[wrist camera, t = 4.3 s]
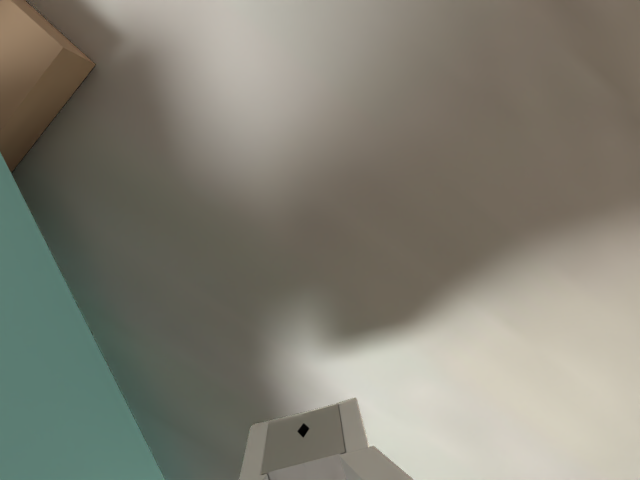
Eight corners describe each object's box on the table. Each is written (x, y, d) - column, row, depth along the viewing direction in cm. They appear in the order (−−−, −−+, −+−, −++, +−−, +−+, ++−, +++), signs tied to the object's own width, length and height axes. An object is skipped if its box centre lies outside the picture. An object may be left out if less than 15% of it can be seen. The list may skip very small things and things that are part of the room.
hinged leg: (-116, 182, 8) (-548, 189, 4) (-2, 148, 8) (-320, 119, 4) (118, 574, 11) (12, 805, 7) (200, 551, 11) (140, 770, 7)
